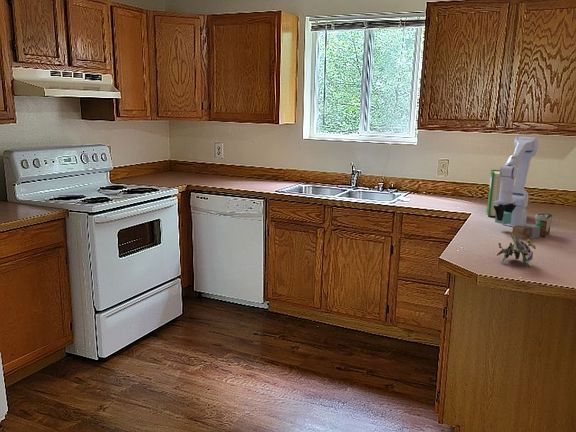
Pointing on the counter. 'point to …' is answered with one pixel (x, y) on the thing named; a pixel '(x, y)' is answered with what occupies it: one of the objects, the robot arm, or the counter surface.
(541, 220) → the food container
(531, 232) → the slate-grey block
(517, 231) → the brass block
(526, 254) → the passion flower
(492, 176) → the hardback book
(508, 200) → the robot arm
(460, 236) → the counter surface
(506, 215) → the teal block
